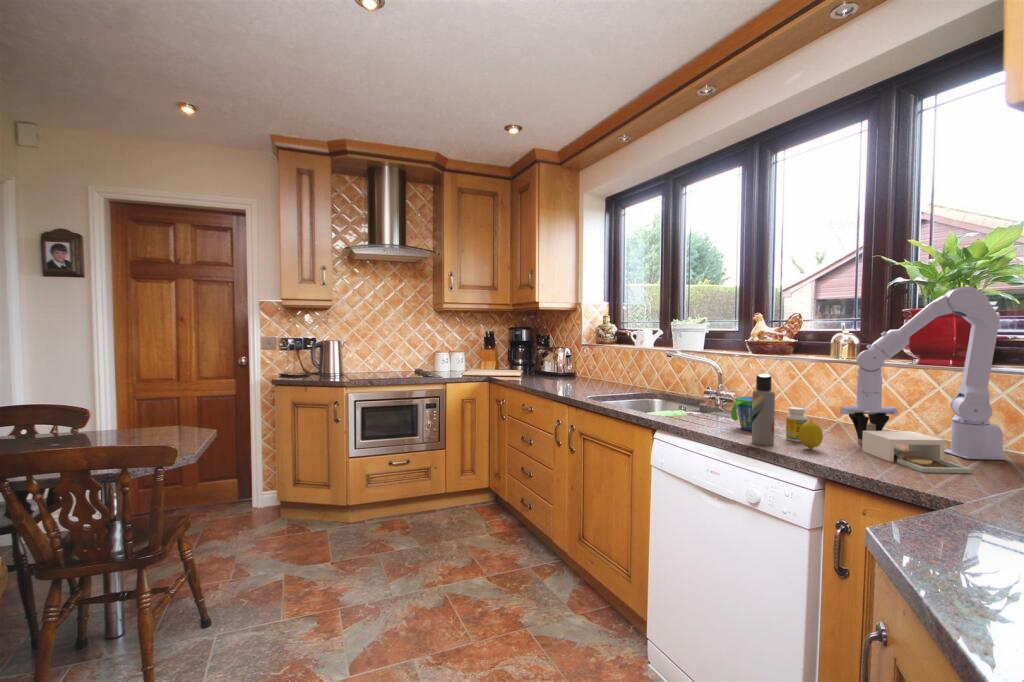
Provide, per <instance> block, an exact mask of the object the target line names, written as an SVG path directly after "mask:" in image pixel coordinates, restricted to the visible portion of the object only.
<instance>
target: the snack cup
mask: <svg viewBox="0 0 1024 682" xmlns="http://www.w3.org/2000/svg"><path fill="white" fill-rule="evenodd" d="M752 397H753V396H737V397H736V398H735V402H734V404H733V405H732V407H731V412H730V416H731V419H732V420H733V421H738V419H739V426H740V427H741V429H743V430H745V431H746V430H747V431H751V432H752ZM737 410H738V411H737ZM737 412H738V413H737Z"/></svg>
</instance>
